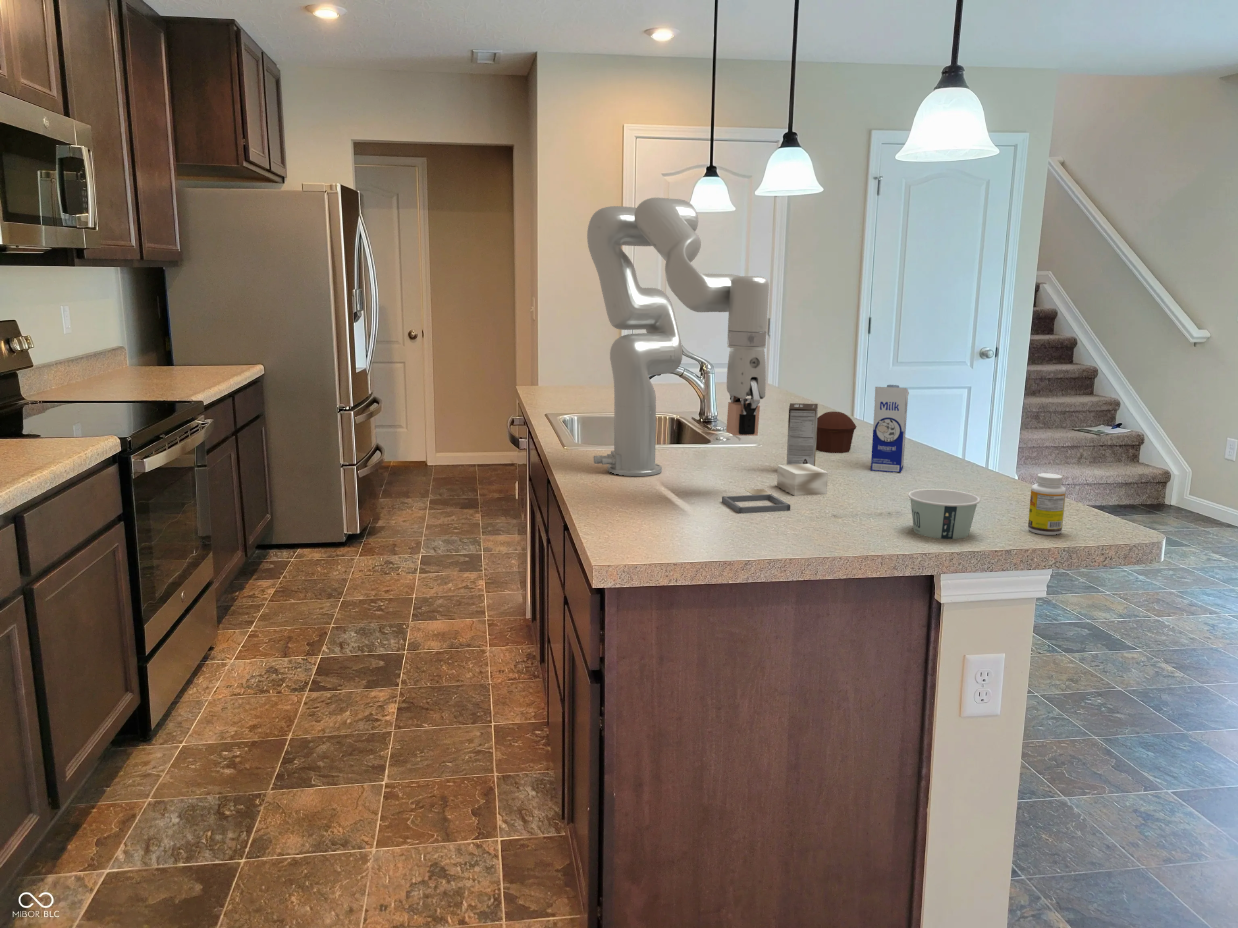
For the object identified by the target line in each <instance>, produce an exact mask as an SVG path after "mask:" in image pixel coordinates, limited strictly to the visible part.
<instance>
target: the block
mask: <svg viewBox="0 0 1238 928" xmlns="http://www.w3.org/2000/svg"><path fill="white" fill-rule="evenodd" d="M747 403H748V402H746V405H747ZM760 408H761V405H760V404H758V407H757V413H756V419H755V433H754V434H749V435H741V434H739V415H740V414H742V413H741V402H731V401H729V402H728V403H727V415H726V416H727V417H726V433H728V434H731V436H738V437H739V436H743V437H744V436H745V437H749V436H753V437H755V436H758V435H759V434H758V433H759V424H760V411H761V410H760Z"/></svg>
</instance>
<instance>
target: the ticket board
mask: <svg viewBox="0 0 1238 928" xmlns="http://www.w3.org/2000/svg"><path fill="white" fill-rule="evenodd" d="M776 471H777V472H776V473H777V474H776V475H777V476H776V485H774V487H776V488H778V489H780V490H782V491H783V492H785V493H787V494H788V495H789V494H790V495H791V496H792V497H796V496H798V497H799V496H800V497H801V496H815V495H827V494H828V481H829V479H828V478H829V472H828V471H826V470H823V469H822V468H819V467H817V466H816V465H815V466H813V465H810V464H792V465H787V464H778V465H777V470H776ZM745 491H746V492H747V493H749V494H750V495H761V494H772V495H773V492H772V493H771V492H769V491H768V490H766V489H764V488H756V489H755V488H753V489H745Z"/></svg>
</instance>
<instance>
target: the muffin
mask: <svg viewBox="0 0 1238 928" xmlns="http://www.w3.org/2000/svg"><path fill="white" fill-rule="evenodd" d="M856 429H857V425H856V424H855V422H854V420H853V419H852V418H851V417H850V416H849V415H847V414H846V413H844V412H842V411H841V412H840V411H827V412H824V413H822V414H821V415H819V416H818V417H817V439H816V452H820V453H827V454H844V453H845V454H846V453H850V451H851V448H852V447H851V446H852V443H853V437H854V434H855V430H856Z"/></svg>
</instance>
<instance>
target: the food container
mask: <svg viewBox="0 0 1238 928" xmlns="http://www.w3.org/2000/svg"><path fill="white" fill-rule="evenodd" d="M907 497H908V498H909V500H910V507H911V509H910V510H911V515H912V516H911V517H912V526H913V528H912V529H913V531H914V533H916V534H918V535H921V536H923V537H924V536H925V537H928V538H934V539H942V540H958V539H965V538H967V537H968V536H969V535H970V531H971V528H972V523H973V520H974V518H975V517H974V516H975V512H976V511H977V510H976V508H977V506H978V504H979V503H980V502H981V498H980V497H979V496H977V495H975V494H973V493H969V492H967V491H966V492H965V491H960V490H954V489H945V488H944V489H943V488H921V489H914V490H911V491H909V492H908V493H907Z"/></svg>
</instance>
